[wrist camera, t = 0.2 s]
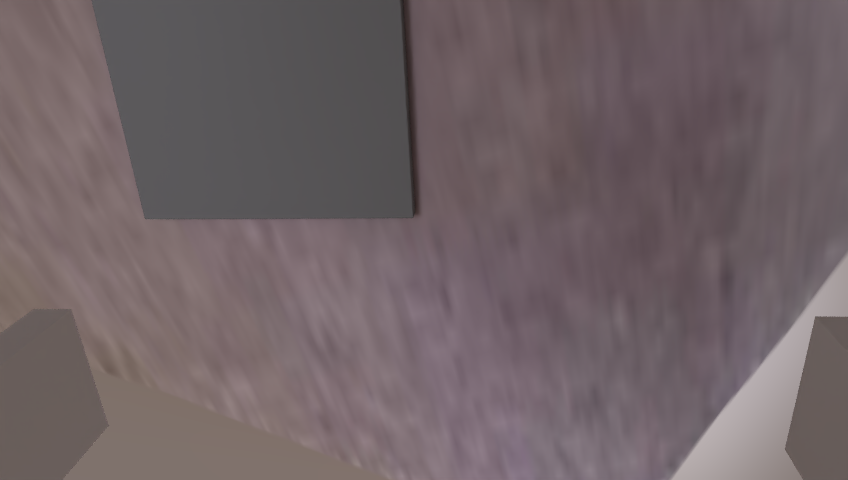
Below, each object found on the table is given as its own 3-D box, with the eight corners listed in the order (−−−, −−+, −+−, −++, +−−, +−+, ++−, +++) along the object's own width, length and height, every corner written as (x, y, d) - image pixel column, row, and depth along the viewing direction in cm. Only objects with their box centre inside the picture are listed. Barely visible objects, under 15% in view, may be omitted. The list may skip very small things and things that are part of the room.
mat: (72, -126, 34) (60, -128, 33) (394, -150, 32) (391, -154, 31) (152, 213, 42) (144, 219, 41) (414, 212, 40) (413, 217, 39)
